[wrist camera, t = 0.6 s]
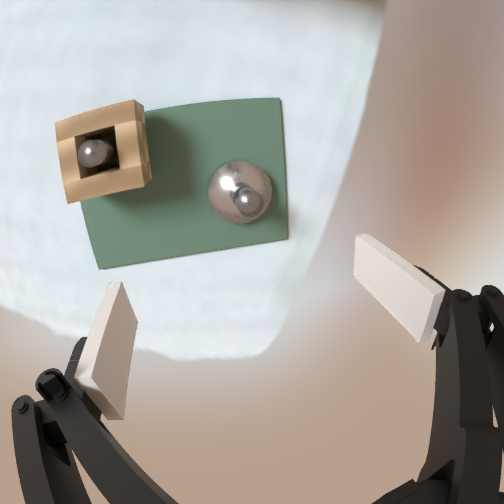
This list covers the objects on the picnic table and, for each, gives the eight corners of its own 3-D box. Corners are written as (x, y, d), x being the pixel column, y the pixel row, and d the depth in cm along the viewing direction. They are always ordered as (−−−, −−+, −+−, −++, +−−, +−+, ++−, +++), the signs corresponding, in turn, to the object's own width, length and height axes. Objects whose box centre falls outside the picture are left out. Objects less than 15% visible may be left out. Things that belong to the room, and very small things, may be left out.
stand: (88, 129, 28) (55, 128, 19) (139, 116, 29) (119, 109, 20) (96, 180, 31) (65, 197, 22) (145, 169, 32) (129, 181, 23)
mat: (70, 131, 28) (69, 131, 27) (278, 98, 32) (279, 97, 32) (99, 268, 36) (98, 269, 36) (286, 238, 41) (287, 239, 40)
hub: (204, 163, 33) (207, 171, 26) (265, 157, 35) (285, 162, 28) (211, 223, 37) (217, 245, 30) (269, 214, 38) (288, 234, 31)
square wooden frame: (75, 123, 26) (55, 122, 20) (143, 105, 27) (133, 99, 22) (86, 192, 29) (67, 204, 24) (152, 178, 31) (144, 186, 25)
